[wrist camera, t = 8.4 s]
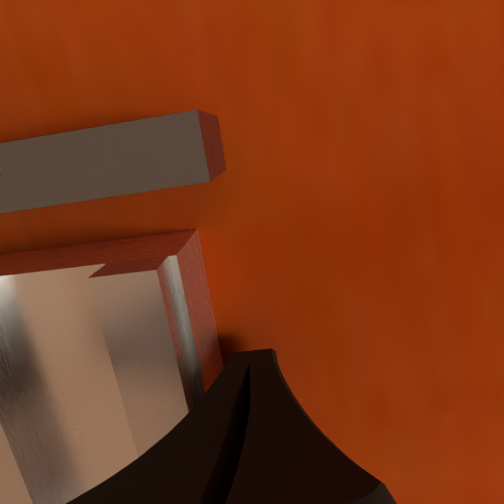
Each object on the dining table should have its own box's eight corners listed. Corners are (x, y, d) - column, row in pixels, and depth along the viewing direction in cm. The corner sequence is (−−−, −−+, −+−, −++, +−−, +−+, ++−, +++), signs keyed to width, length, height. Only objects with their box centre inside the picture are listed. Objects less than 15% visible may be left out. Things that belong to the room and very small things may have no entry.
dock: (287, 530, 15) (290, 621, 12) (23, 546, 16) (-29, 633, 14) (217, 116, 11) (196, 109, 8) (-144, 176, 12) (-276, 189, 9)
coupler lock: (244, 470, 15) (234, 585, 11) (77, 481, 16) (13, 593, 12) (199, 226, 12) (165, 269, 8) (-3, 252, 13) (-121, 302, 9)
